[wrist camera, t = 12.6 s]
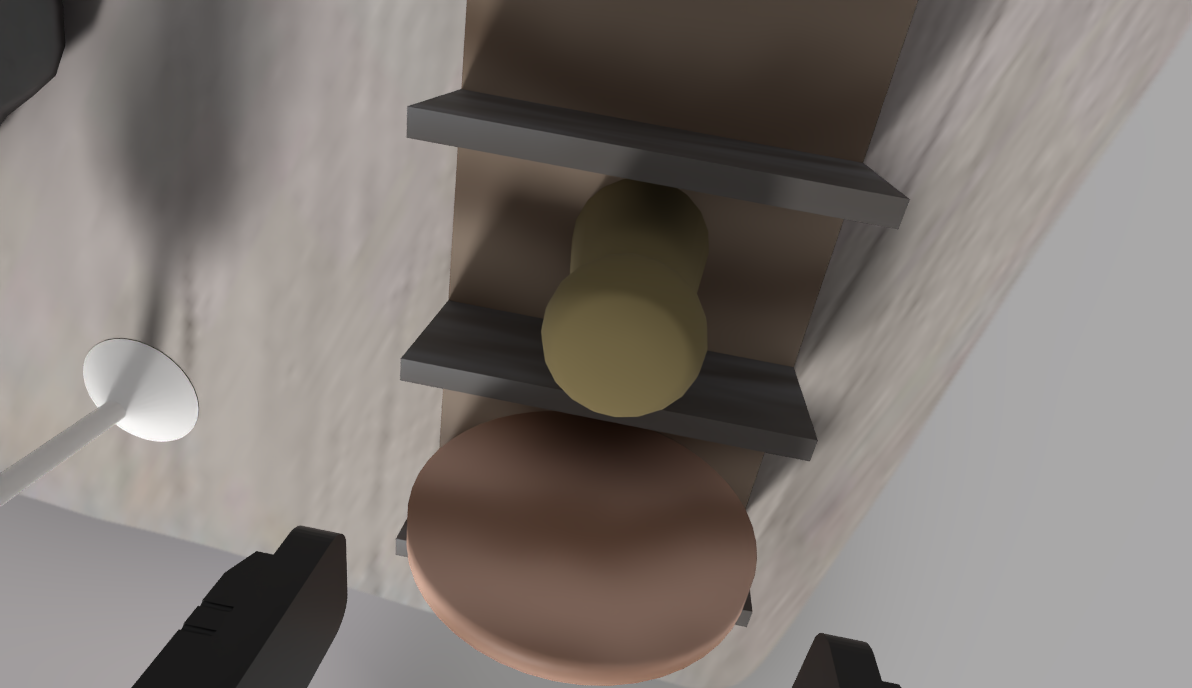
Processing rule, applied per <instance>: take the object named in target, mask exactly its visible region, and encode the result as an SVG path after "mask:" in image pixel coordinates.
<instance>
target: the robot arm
mask: <svg viewBox="0 0 1192 688" xmlns="http://www.w3.org/2000/svg"><path fill="white" fill-rule="evenodd" d="M346 603H347V561H346V539H345V536H344V535H343V534H340V533H335V532H330V531H325V530H320V529H315V528H310V527H305V526H297V527H296V528H294V529H293V530H292V531H291V532H290V534H289V535H288V536H287V537H286V539H285V540H284V541H283V543H282V544H281V545H280V547H279V548H278V549H277V551H276V552H275V553H274V555H273V554H268V553H263V552H258V551H256V552H255V553H253V554H252V555H250V556H249V557H247V558H246V559H244V560H243V561H241V562H240V563H238V564H237V565H236V566H234V567H232V568H231V569H229V570H228V571H227V572H225V573H224V574H223V576H222V577H221V578H220V579H219V580H218V582H217V583H216V584H215V586H214V587H213V588H212V589H211V590H210V592H209V593H208V594H207V595H206V597H205V598H204V599H203V600H202V604H201V606H197V608H196V609H195V610H194V611H193V613H192V614H191V615H190V616H189V618H188V619H187V620H186V621H185V623H184V625H183V628H182V629H181V630H178V631H177V632H176V634H175V635H174V636H173V637H172V639H171V640H170V641H169V642H168V643H167V645H166V646H165V647H164V648H163V650H162V651H161V652H160V653H159V655H158V656H157V657H156V658H155V659H154V661H153V662H152V663H151V664H150V666H149V667H148V668H147V669H146V671H145V672H144V673H143V674H142V675H141V677H140V678H139V679H138V680H137V682H136V683H135V684H134V685H133V686H132V688H307V687H308V685H309V683H310V681H311V680H312V678H313V676H314V674H315V672H316V671H317V669H318V667H319V665H320V663H321V661H322V659H323V658H324V656H325V654H326V652H327V651H328V649H329V647H330V645H331V643H332V642H333V640H334V638H335V636H336V634H337V632H338V630H339V627H340V625H341V622H342V619H343V616H344V613H345V609H346ZM792 688H901V687H900V685H898V684H894V683H889V682H883V681H882V680H881V676H880V673H879V670H878V667H877V663H876V660H875V657H874V654H873V651H872V649H871V647H870V646H869V644H868V643H866V642H863V641H858V640H853V639H848V638H843V637H838V636H833V635H828V634H824V633H819V634H818V635H817V636H816V637H815V639H814V641H813V643H812V645H811V647H810V649H809V652H808V654H807V656H806V658H805V660H804V663H803V665H802V667H801V669H800V672H799V673H798V676H797V678H796V680H795V682H794V684H793V686H792Z"/></svg>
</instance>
